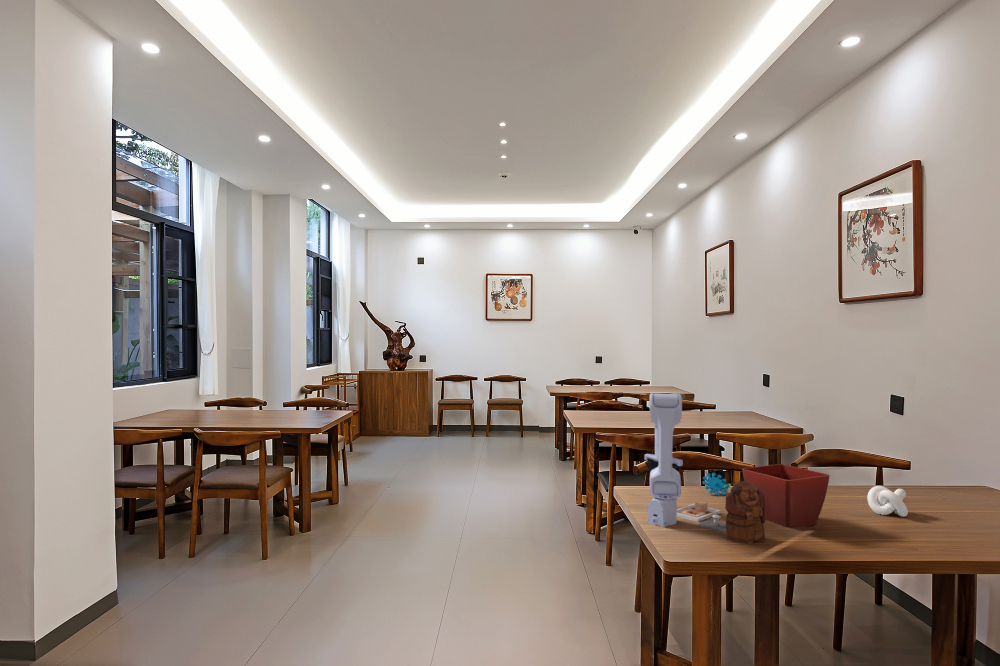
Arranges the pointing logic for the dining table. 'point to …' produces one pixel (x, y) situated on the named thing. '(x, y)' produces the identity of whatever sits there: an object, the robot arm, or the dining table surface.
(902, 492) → the white knot sculpture
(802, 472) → the plant pot
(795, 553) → the dining table surface
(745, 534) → the wooden figurine
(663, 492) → the robot arm
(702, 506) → the ring
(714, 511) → the tray
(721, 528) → the grey plate with knob
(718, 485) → the gear
